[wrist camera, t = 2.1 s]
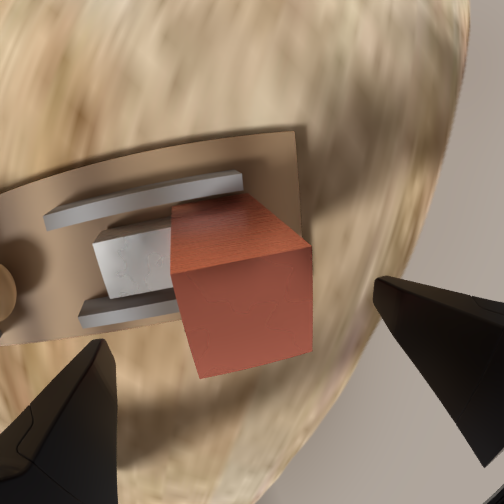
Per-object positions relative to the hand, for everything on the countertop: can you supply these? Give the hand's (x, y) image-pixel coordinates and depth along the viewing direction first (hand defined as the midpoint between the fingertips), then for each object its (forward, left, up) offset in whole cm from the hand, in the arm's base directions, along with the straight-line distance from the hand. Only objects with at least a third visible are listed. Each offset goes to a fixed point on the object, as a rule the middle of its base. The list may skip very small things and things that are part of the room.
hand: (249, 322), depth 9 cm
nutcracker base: (-7, 0, -10) cm, 12 cm away
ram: (-2, 0, -8) cm, 8 cm away
